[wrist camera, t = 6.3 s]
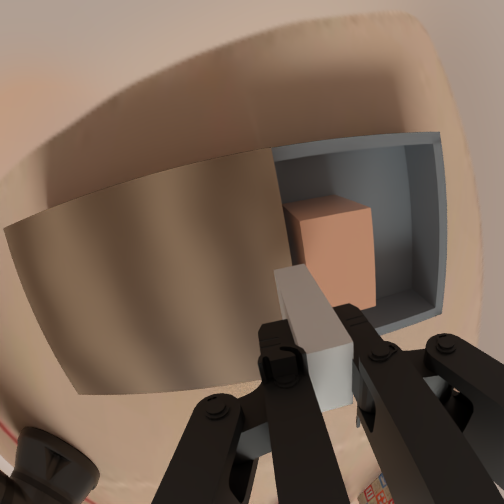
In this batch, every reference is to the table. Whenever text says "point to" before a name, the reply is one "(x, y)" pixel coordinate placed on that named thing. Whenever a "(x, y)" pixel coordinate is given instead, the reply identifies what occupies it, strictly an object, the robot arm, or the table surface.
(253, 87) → the table surface
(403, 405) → the robot arm
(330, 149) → the box
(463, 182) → the table surface
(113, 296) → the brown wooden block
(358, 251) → the salmon orange block
